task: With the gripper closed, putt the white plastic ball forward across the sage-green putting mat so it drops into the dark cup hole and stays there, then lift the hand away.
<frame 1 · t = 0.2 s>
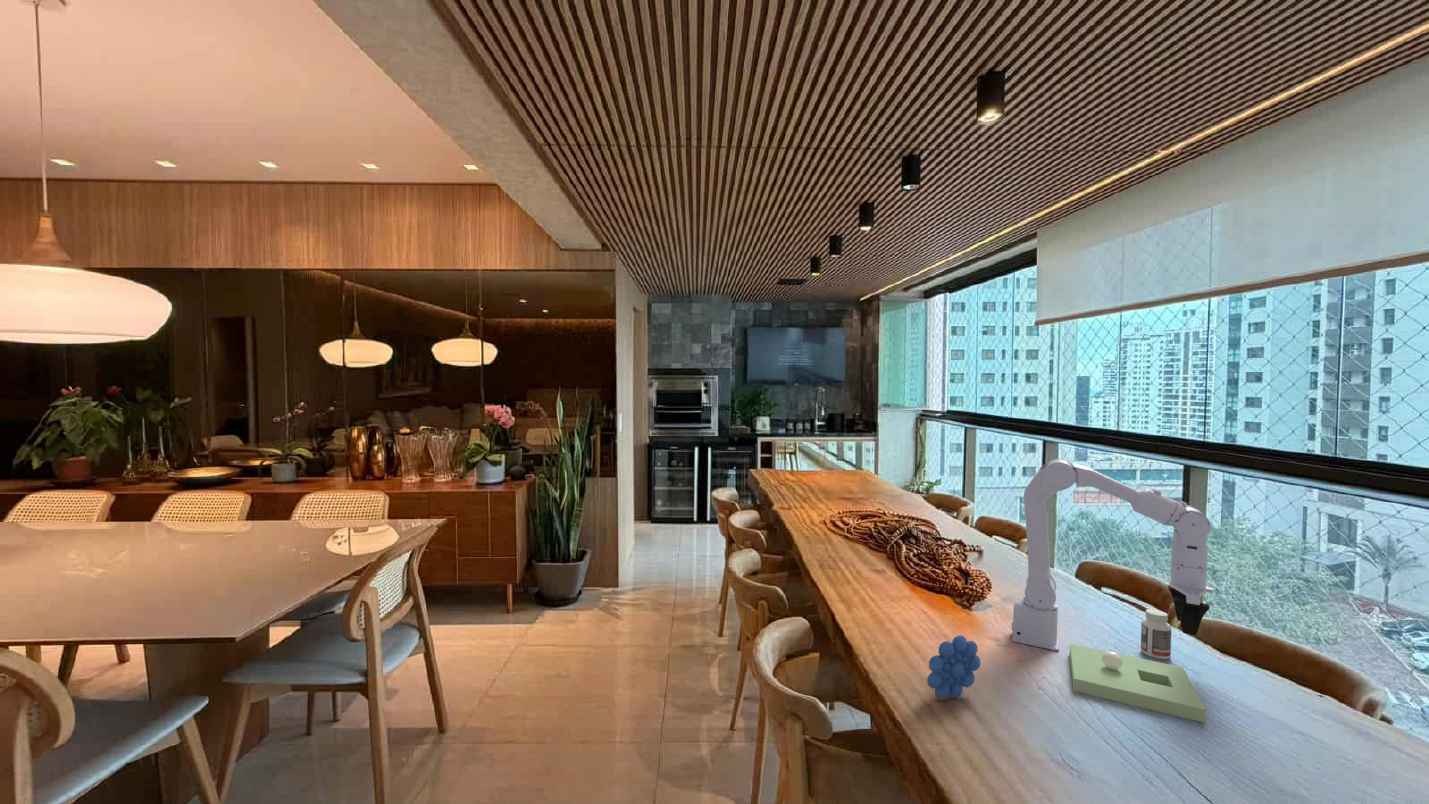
hand: (1186, 627, 117), 10 cm above the table, tool pointing down, fingers open, 7 cm apart
putting mat: (1129, 684, 112), on the table
grapes: (950, 695, 108), on the table
pill bottle: (1155, 655, 126), on the table
ball: (1112, 660, 114), point 4 cm above the table, touching putting mat
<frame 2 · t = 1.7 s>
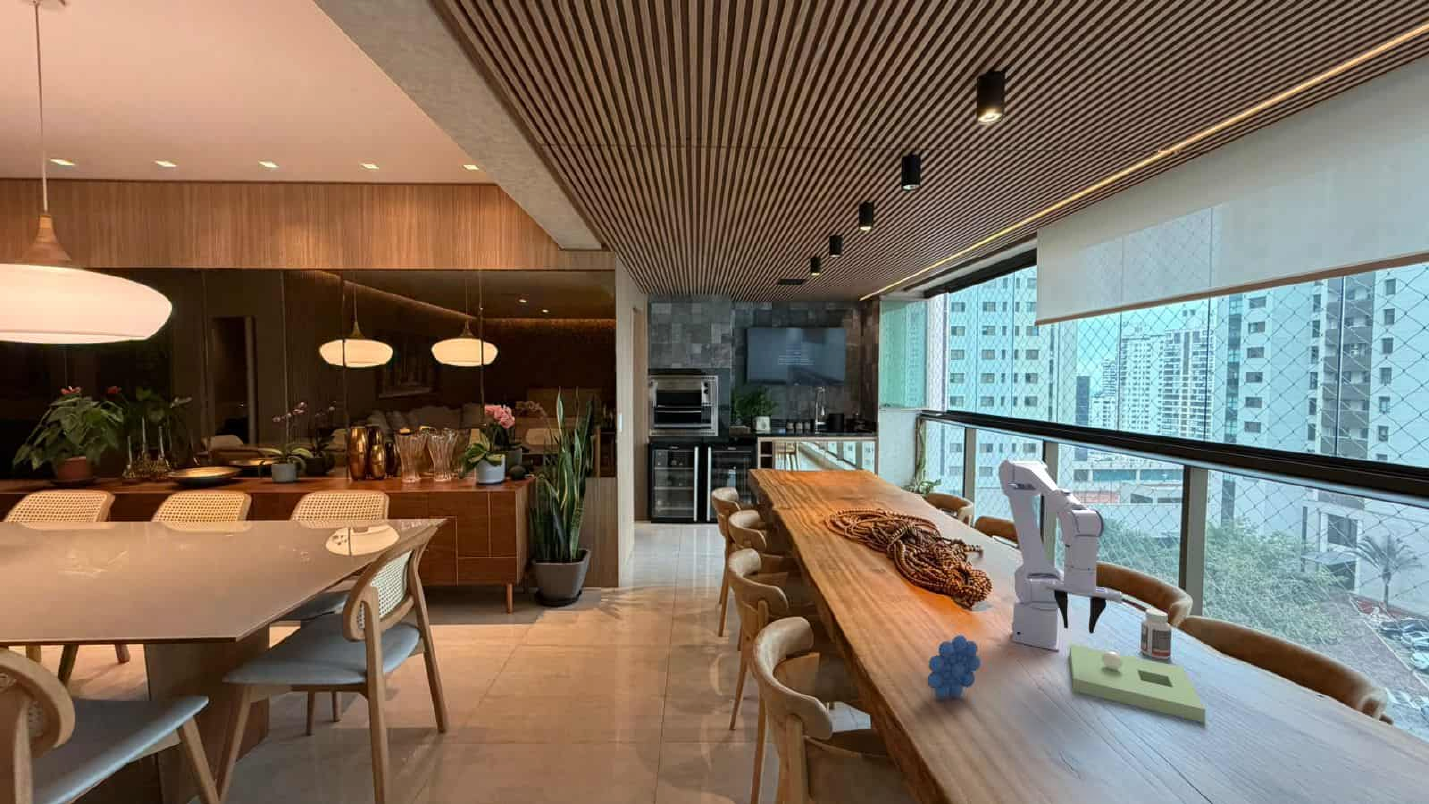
hand: (1078, 629, 117), 9 cm above the table, tool pointing down, fingers open, 4 cm apart
nothing on the table moved.
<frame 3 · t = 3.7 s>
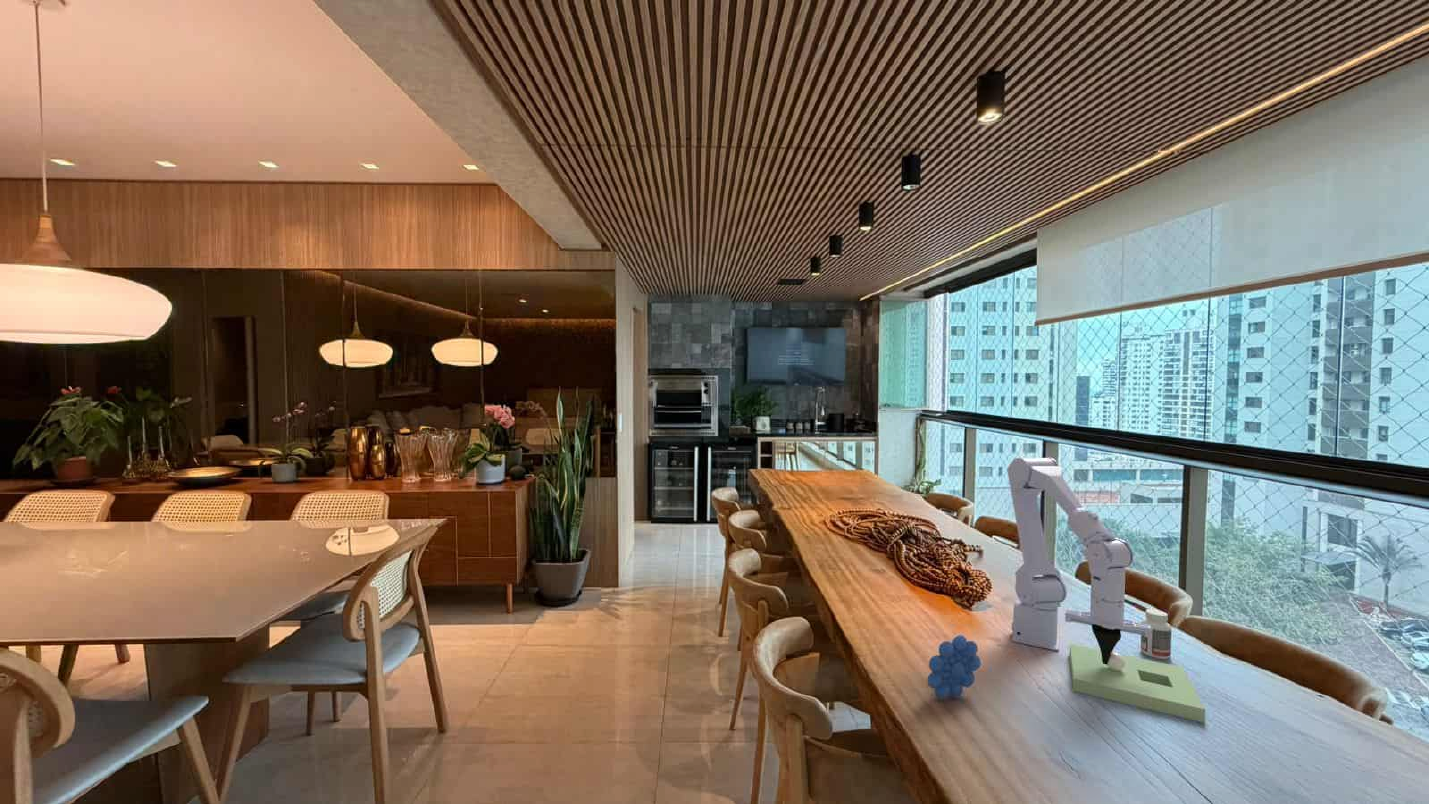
hand: (1105, 662, 114), 4 cm above the table, tool pointing down, fingers closed, pressing on ball
ball: (1114, 661, 114), point 4 cm above the table, tilted 16°, touching gripper, putting mat
everything else where it was.
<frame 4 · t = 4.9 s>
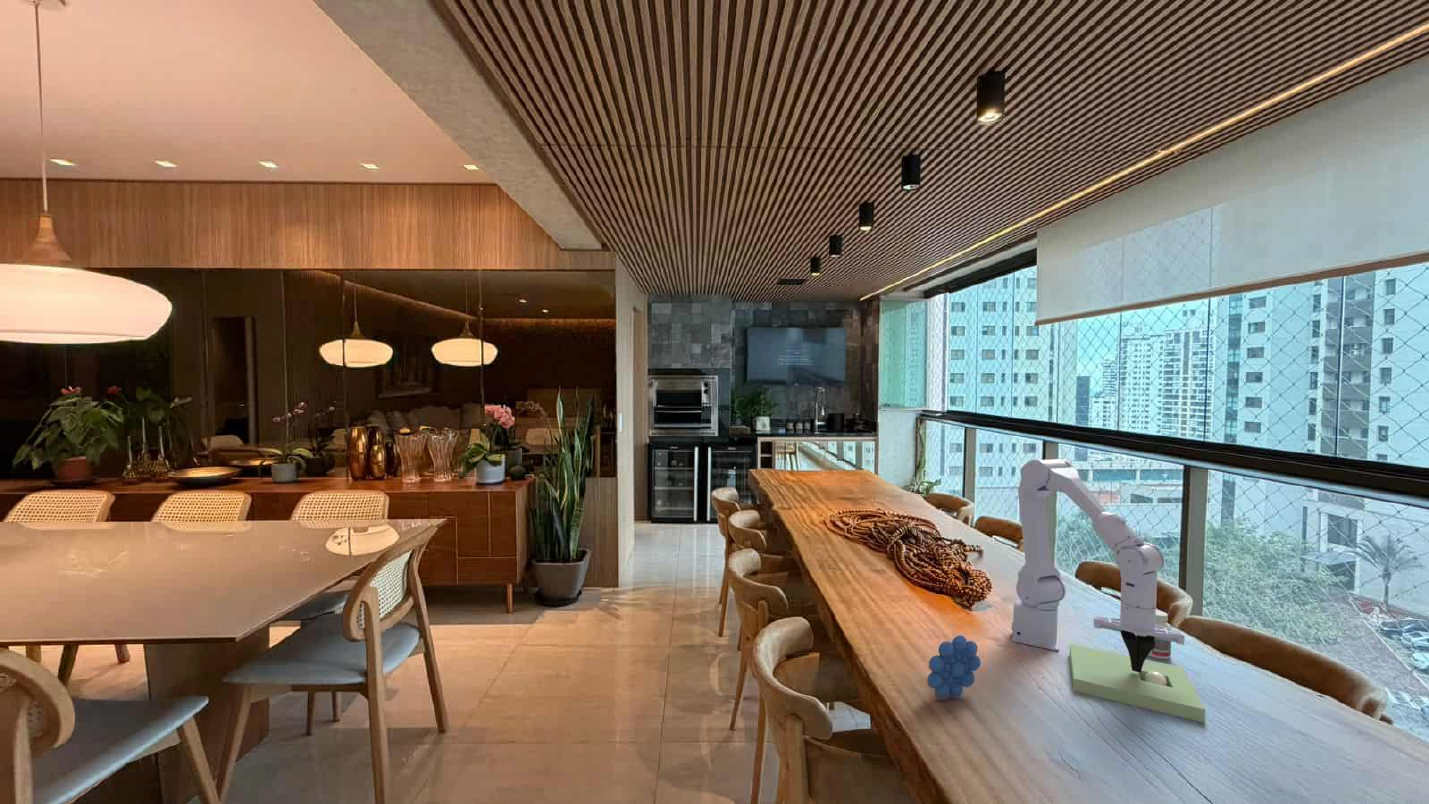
hand: (1136, 669, 112), 3 cm above the table, tool pointing down, fingers closed
ball: (1155, 681, 110), point 2 cm above the table, tilted 102°, touching putting mat
everything else where it was.
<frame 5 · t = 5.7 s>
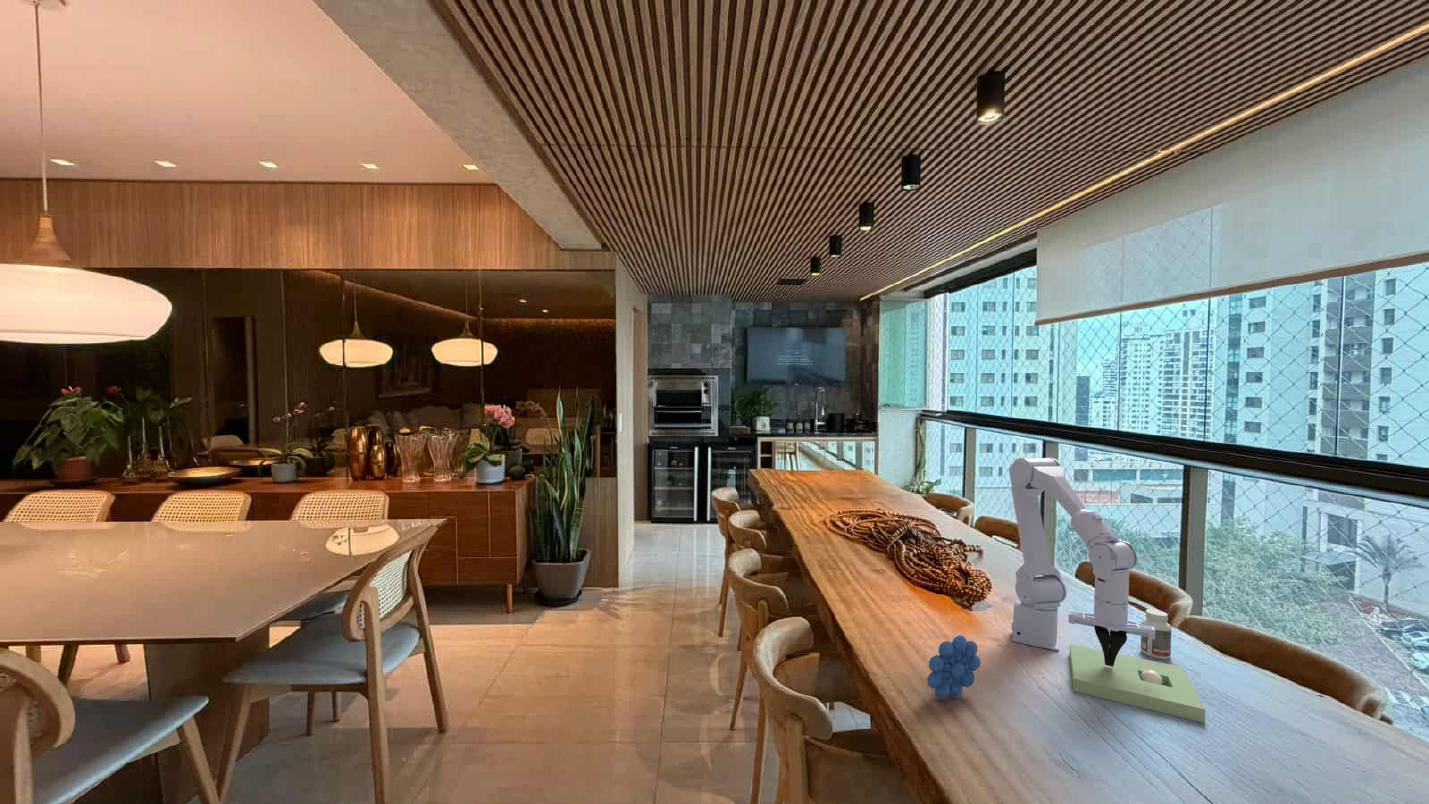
hand: (1108, 664, 114), 3 cm above the table, tool pointing down, fingers closed
ball: (1151, 679, 111), point 2 cm above the table, tilted 122°, touching putting mat
everything else where it was.
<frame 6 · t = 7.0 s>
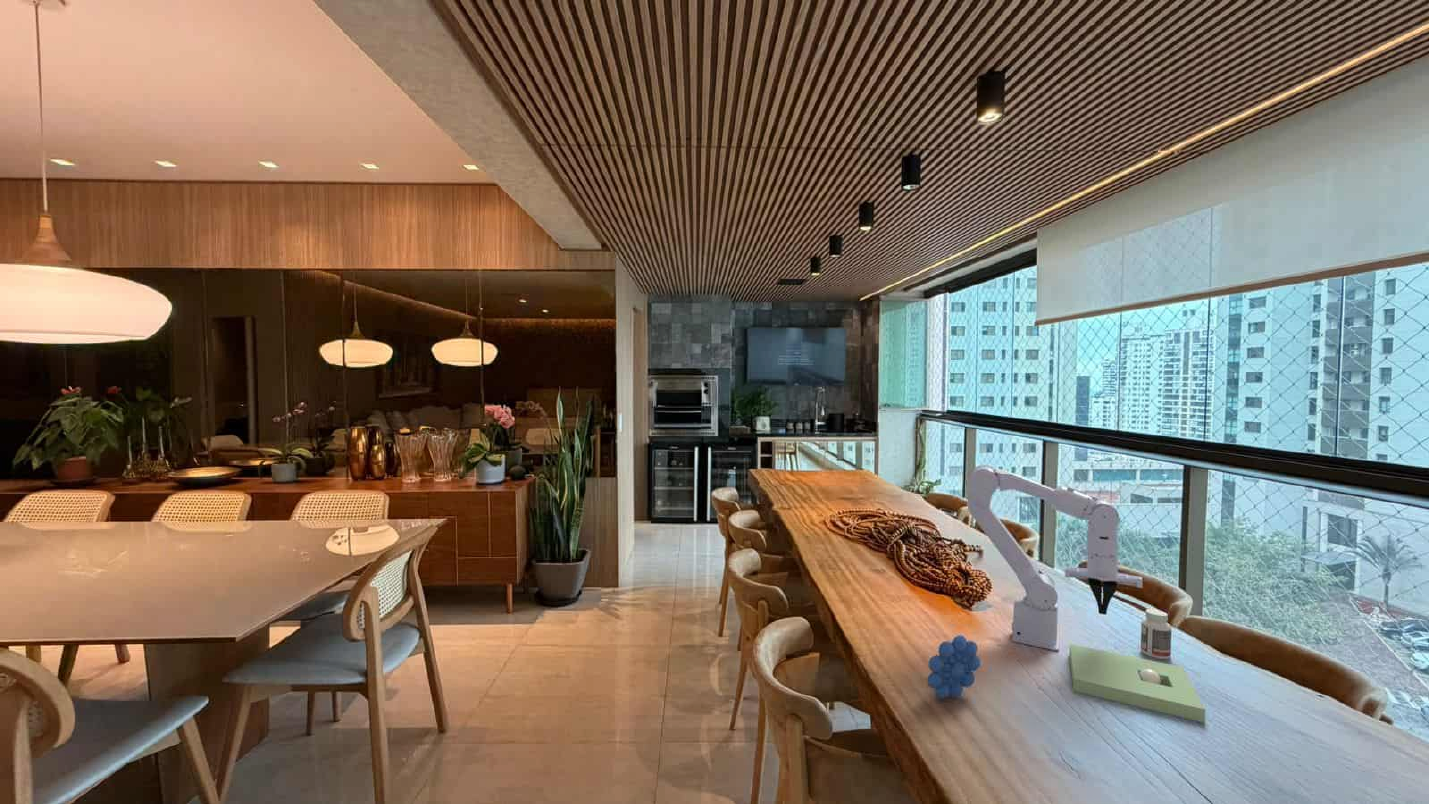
hand: (1102, 612, 126), 9 cm above the table, tool pointing down, fingers closed
ball: (1149, 678, 111), point 2 cm above the table, tilted 130°, touching putting mat
everything else where it was.
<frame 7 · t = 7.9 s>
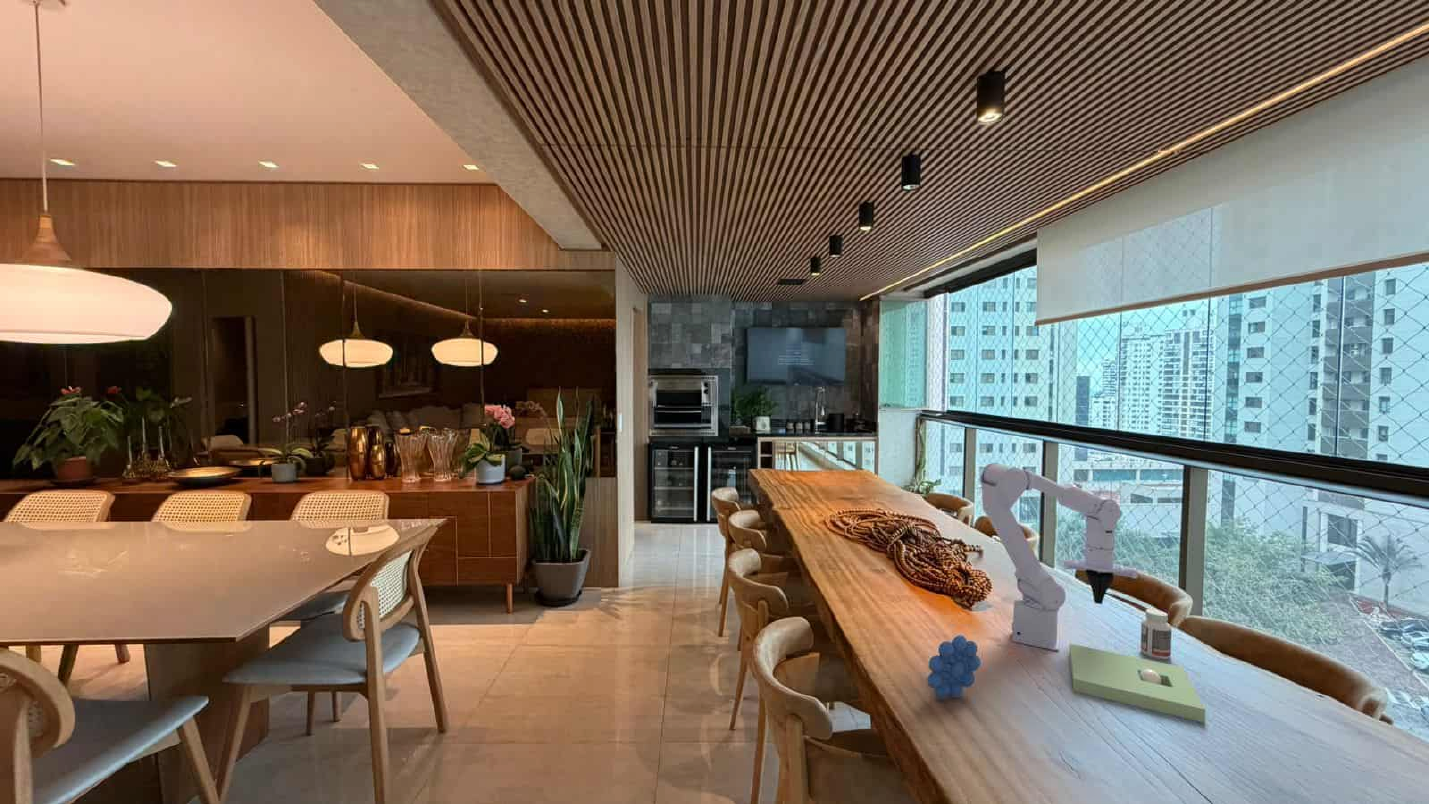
hand: (1097, 602, 132), 9 cm above the table, tool pointing down, fingers closed
nothing on the table moved.
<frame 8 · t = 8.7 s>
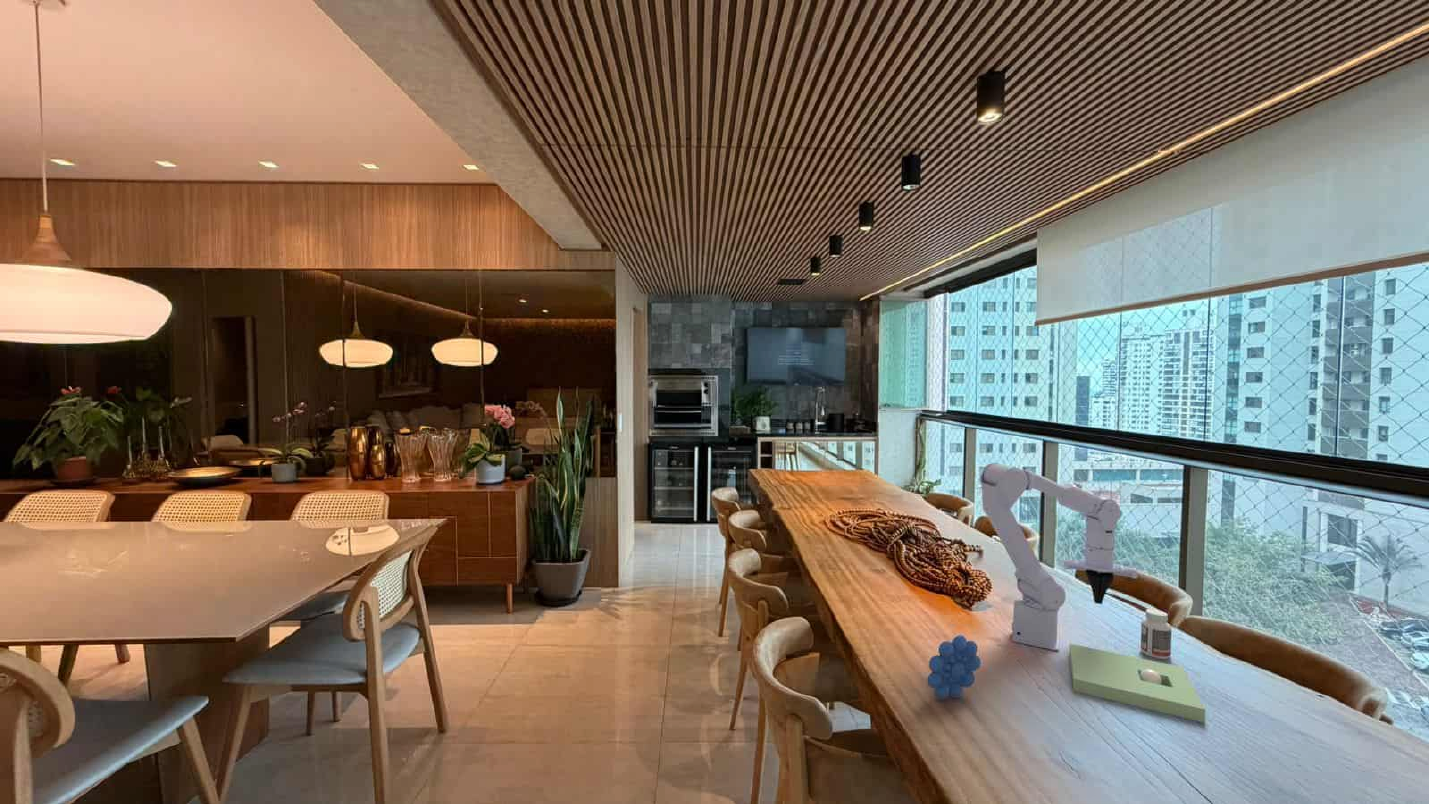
hand: (1097, 602, 132), 9 cm above the table, tool pointing down, fingers closed
nothing on the table moved.
at the end: ball 0.8 cm from the target spot in the putting mat, point 1.9 cm above the putting mat's base; ball moved 6.9 cm from its start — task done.
